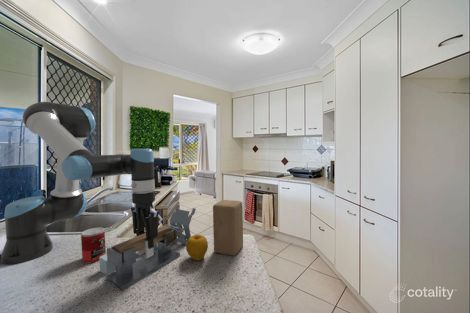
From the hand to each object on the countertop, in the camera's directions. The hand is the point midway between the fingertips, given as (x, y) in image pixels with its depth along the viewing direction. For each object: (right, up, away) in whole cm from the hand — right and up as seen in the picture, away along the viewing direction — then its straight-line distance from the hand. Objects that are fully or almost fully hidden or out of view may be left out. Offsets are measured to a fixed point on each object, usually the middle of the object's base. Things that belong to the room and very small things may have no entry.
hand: (146, 254), depth 73 cm
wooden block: (+30, -4, +12) cm, 33 cm away
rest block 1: (-13, -5, -1) cm, 14 cm away
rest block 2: (-4, -4, +12) cm, 14 cm away
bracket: (+6, -4, +21) cm, 22 cm away
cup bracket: (0, -5, 0) cm, 4 cm away
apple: (+18, -4, +6) cm, 19 cm away
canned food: (-24, -5, +7) cm, 25 cm away
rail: (0, +4, 0) cm, 4 cm away
